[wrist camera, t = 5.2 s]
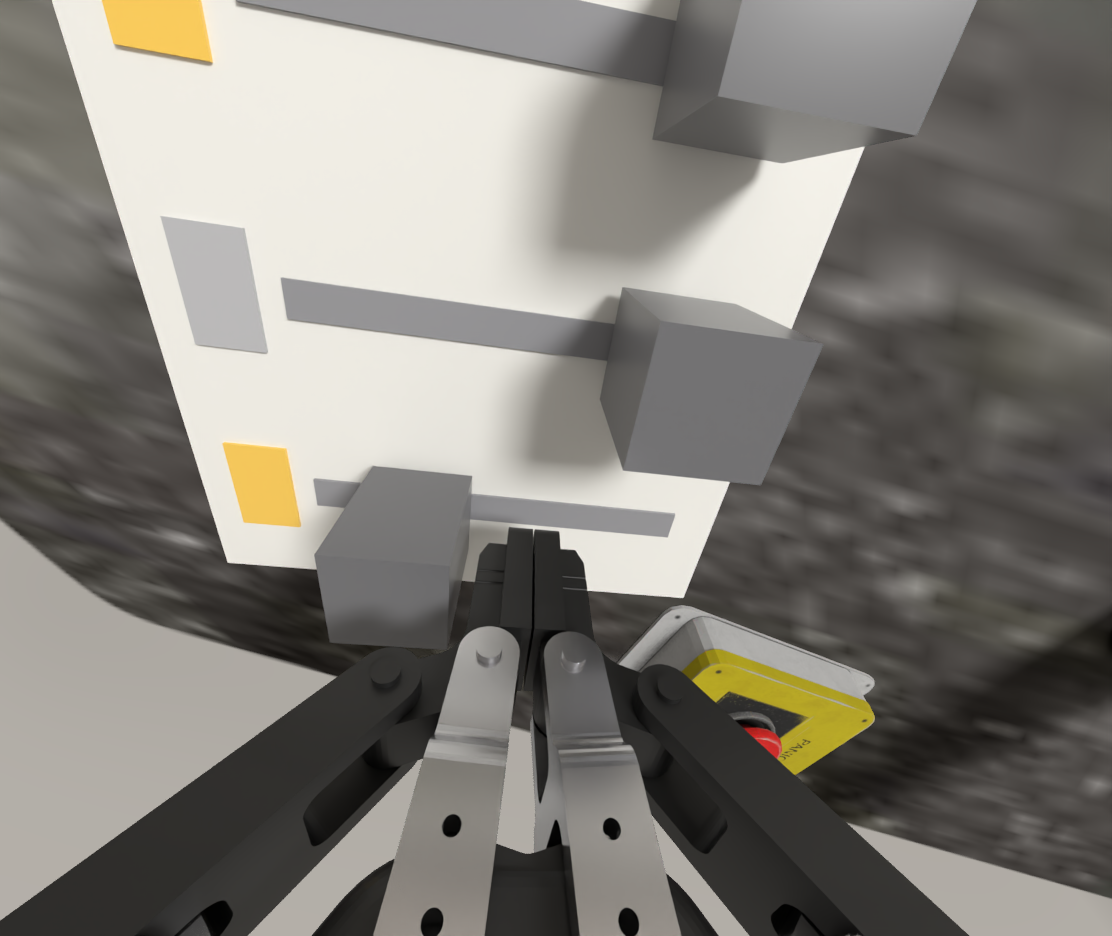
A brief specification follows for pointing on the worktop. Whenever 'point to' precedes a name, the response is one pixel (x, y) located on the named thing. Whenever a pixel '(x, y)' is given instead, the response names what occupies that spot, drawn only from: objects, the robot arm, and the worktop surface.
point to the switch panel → (427, 253)
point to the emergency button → (761, 683)
